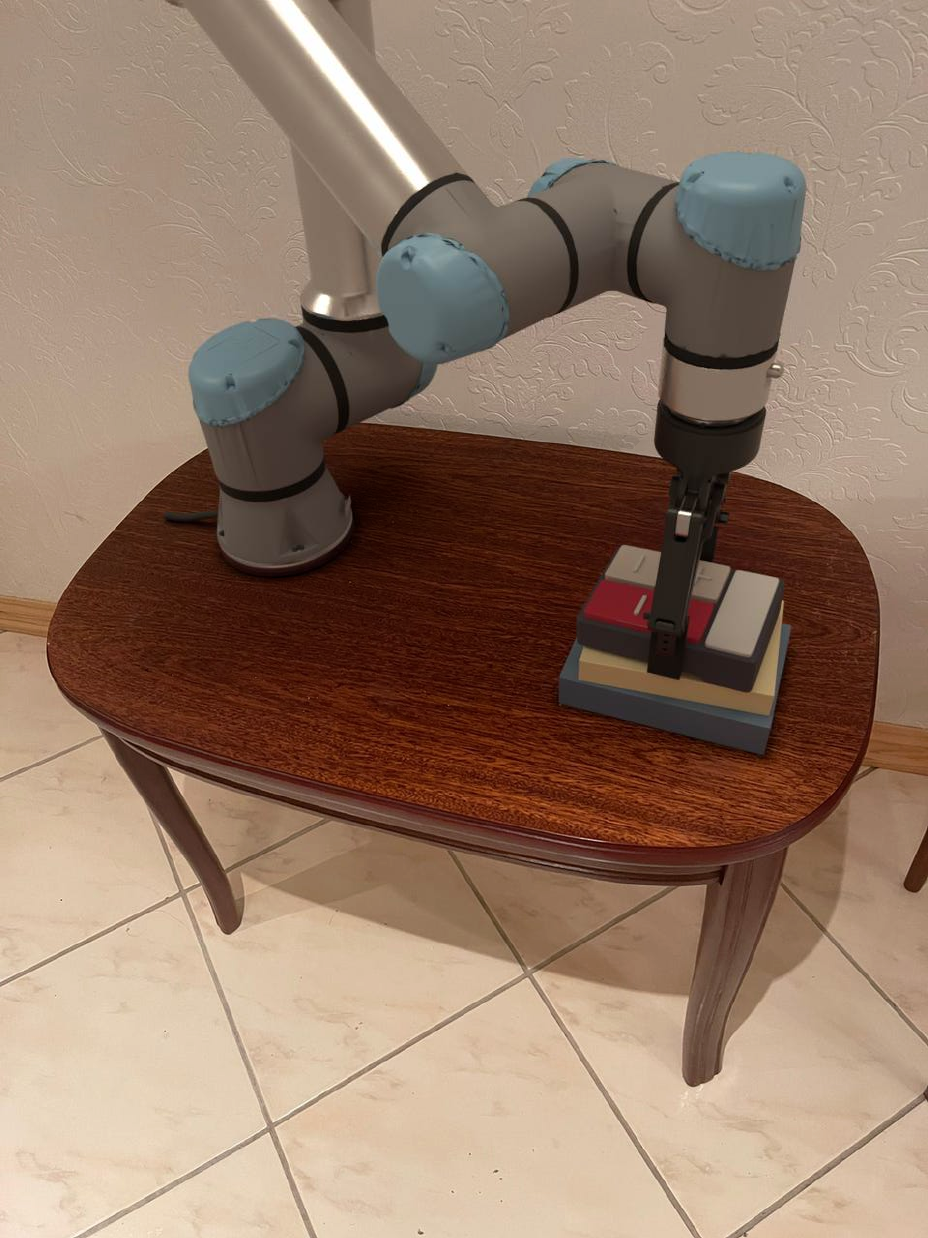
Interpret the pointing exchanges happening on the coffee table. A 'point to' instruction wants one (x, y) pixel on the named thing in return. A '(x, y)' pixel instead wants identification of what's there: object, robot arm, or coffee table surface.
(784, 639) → the book stack
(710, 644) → the calculator
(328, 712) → the coffee table surface
